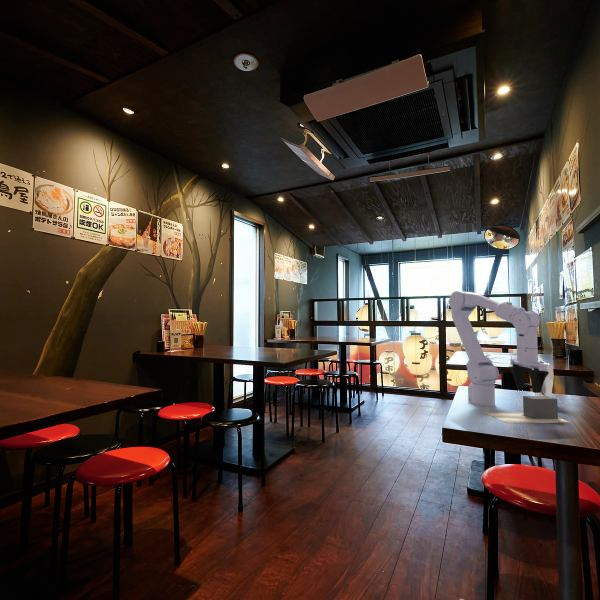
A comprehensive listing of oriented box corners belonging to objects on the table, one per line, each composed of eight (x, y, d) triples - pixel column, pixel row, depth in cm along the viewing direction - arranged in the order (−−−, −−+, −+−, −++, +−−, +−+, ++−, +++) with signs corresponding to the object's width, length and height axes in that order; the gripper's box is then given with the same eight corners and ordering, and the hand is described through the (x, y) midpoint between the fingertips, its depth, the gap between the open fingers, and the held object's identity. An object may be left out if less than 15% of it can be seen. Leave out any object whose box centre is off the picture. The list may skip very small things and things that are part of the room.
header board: (484, 417, 118) (483, 403, 118) (542, 416, 119) (541, 402, 119) (507, 428, 106) (506, 412, 106) (571, 427, 107) (570, 412, 107)
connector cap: (523, 414, 114) (522, 396, 115) (547, 414, 115) (546, 395, 115) (533, 418, 110) (532, 399, 110) (558, 418, 110) (557, 398, 111)
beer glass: (556, 402, 138) (554, 363, 139) (552, 405, 133) (551, 365, 134) (534, 399, 143) (533, 362, 144) (531, 402, 138) (529, 363, 139)
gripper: (501, 346, 123) (502, 386, 123) (530, 350, 109) (532, 395, 108) (521, 346, 124) (522, 385, 123) (552, 350, 109) (554, 394, 109)
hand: (528, 390), depth 116 cm, fingers open, 7 cm apart
